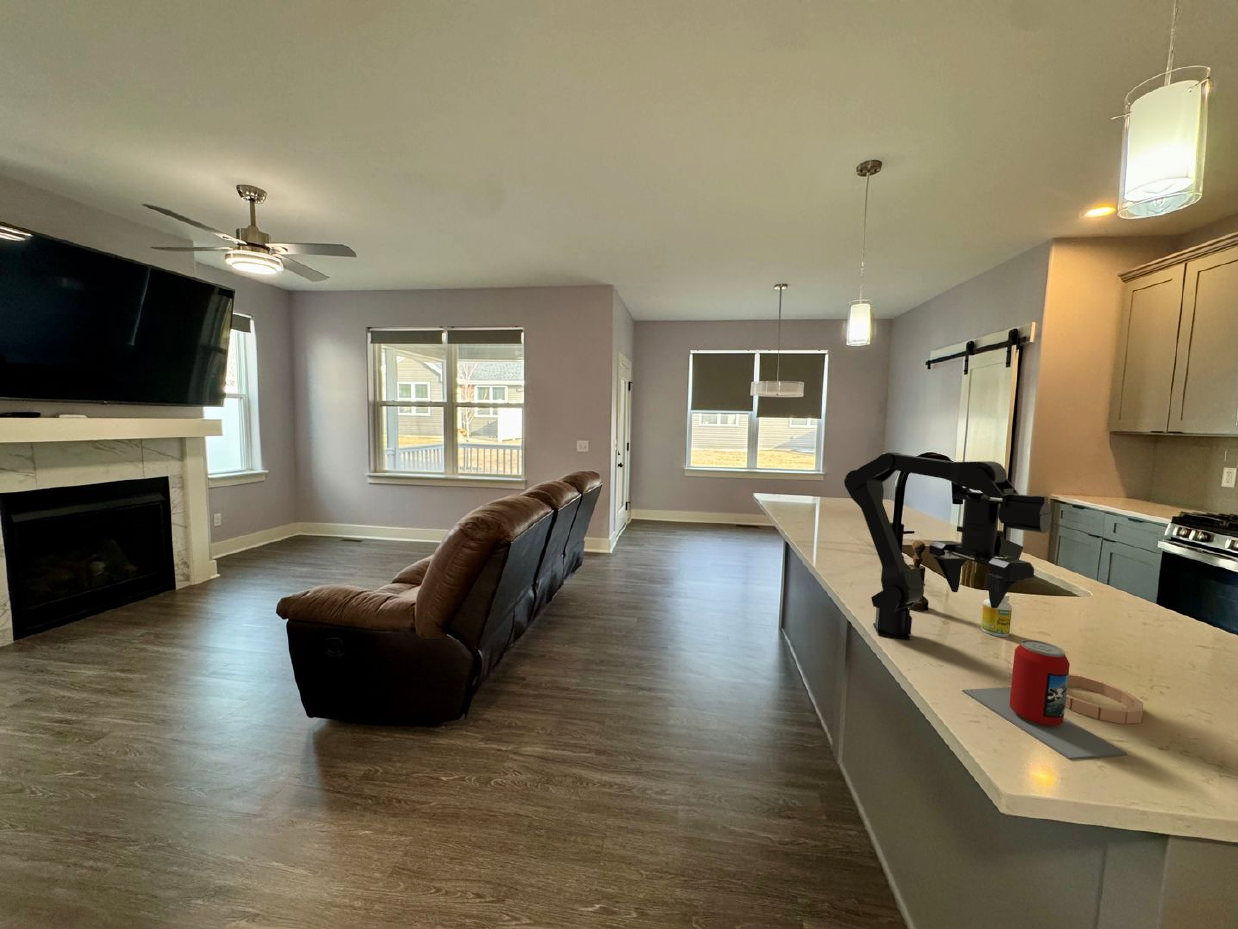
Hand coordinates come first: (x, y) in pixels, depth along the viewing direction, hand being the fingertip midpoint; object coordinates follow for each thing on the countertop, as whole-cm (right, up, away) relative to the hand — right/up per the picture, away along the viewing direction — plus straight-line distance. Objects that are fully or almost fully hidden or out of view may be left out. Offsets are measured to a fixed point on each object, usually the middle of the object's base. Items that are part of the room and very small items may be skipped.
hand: (973, 599), depth 98 cm
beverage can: (-4, -14, -19) cm, 24 cm away
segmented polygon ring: (+11, -14, -13) cm, 22 cm away
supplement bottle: (+17, -13, +16) cm, 27 cm away
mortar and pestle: (+7, -11, +32) cm, 35 cm away
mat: (-4, -14, -19) cm, 24 cm away
